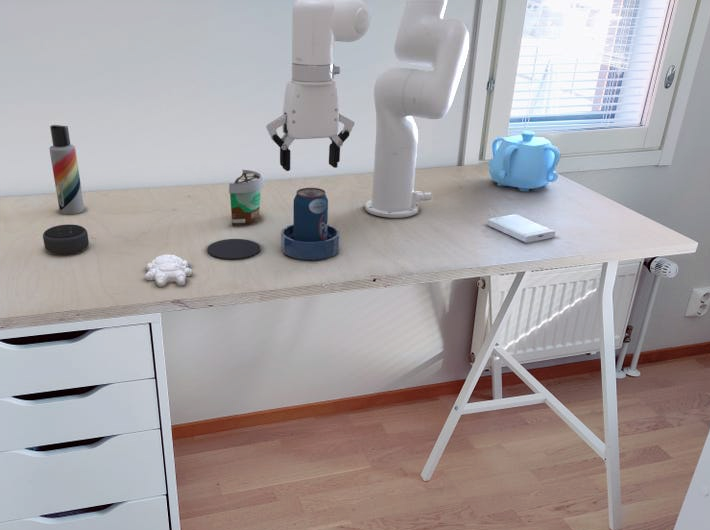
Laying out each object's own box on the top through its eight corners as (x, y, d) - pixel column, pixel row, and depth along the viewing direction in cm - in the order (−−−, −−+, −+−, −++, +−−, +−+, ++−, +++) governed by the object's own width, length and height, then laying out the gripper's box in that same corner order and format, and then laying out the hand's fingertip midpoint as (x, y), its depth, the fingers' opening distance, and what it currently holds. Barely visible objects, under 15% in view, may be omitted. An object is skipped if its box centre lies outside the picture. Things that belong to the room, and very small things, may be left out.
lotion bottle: (54, 213, 168) (39, 126, 158) (69, 206, 172) (56, 121, 162) (74, 216, 166) (61, 128, 156) (89, 208, 171) (76, 123, 161)
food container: (257, 230, 158) (256, 185, 153) (230, 228, 159) (228, 184, 154) (269, 212, 168) (269, 170, 163) (244, 210, 169) (243, 168, 164)
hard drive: (487, 218, 159) (526, 236, 150) (516, 213, 163) (555, 230, 153) (486, 226, 160) (525, 243, 151) (515, 220, 163) (554, 237, 154)
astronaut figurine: (144, 288, 131) (142, 273, 129) (148, 263, 141) (146, 249, 140) (192, 286, 132) (191, 271, 130) (192, 261, 142) (191, 247, 140)
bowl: (327, 237, 154) (327, 220, 152) (346, 257, 144) (347, 238, 142) (274, 243, 151) (274, 225, 149) (291, 264, 141) (291, 245, 139)
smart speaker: (68, 259, 143) (64, 241, 141) (36, 251, 147) (32, 233, 145) (98, 245, 150) (95, 227, 148) (67, 238, 153) (64, 220, 151)
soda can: (328, 254, 144) (330, 196, 138) (294, 255, 144) (294, 197, 138) (324, 242, 150) (326, 186, 144) (292, 243, 150) (292, 187, 144)
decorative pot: (490, 192, 182) (498, 138, 175) (485, 174, 196) (492, 124, 189) (556, 195, 180) (566, 141, 173) (546, 177, 193) (556, 126, 186)
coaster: (252, 238, 153) (252, 236, 153) (266, 256, 144) (266, 254, 144) (202, 243, 151) (202, 241, 150) (213, 262, 142) (213, 260, 141)
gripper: (348, 69, 135) (344, 160, 144) (261, 72, 131) (261, 165, 139) (363, 75, 129) (358, 169, 138) (272, 78, 125) (272, 175, 133)
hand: (309, 167), depth 138 cm, fingers open, 9 cm apart
